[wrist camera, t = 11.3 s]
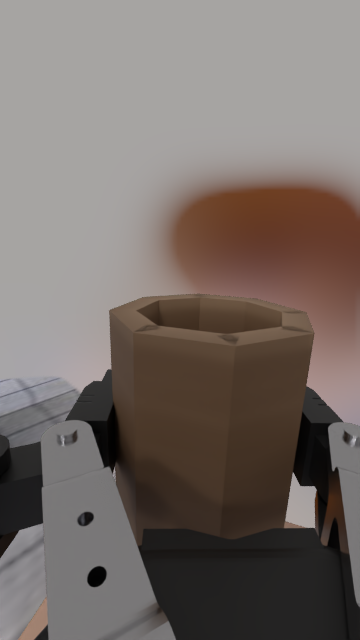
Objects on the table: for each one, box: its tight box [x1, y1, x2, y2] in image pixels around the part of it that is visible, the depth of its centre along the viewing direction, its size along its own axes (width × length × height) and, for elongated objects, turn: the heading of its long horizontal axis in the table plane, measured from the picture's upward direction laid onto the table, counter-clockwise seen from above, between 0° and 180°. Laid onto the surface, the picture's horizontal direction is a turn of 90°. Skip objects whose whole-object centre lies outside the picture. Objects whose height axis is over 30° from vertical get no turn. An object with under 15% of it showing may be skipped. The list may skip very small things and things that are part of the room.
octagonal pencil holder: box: [109, 294, 314, 546], centre depth 10 cm, size 5×7×10 cm
